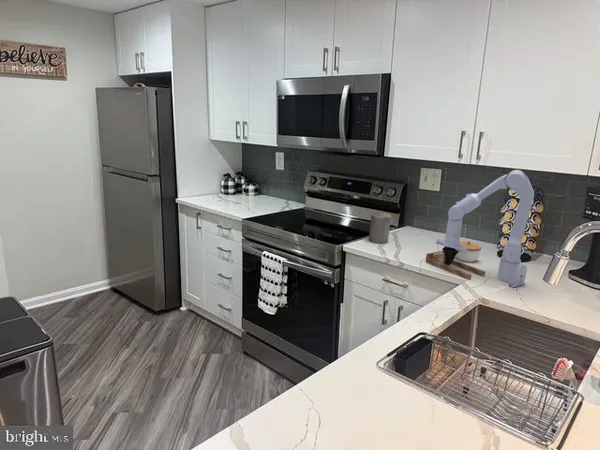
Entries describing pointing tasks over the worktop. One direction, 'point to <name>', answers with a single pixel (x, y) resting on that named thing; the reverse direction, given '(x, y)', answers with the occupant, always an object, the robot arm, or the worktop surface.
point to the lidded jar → (469, 252)
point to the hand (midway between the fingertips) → (448, 264)
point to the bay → (452, 270)
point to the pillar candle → (379, 228)
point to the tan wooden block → (439, 257)
